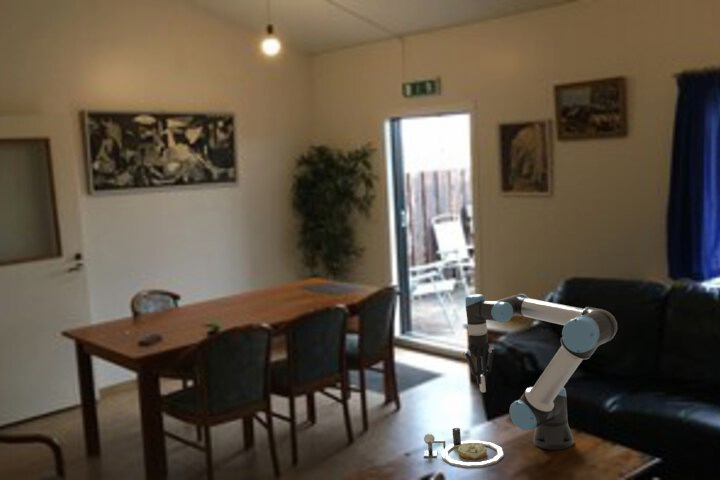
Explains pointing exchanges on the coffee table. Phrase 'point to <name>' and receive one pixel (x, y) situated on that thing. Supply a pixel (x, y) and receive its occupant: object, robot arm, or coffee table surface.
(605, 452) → the coffee table surface
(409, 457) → the coffee table surface
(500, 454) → the ring
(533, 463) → the coffee table surface
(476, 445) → the decorated donut
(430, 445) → the dial indicator
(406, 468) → the coffee table surface
